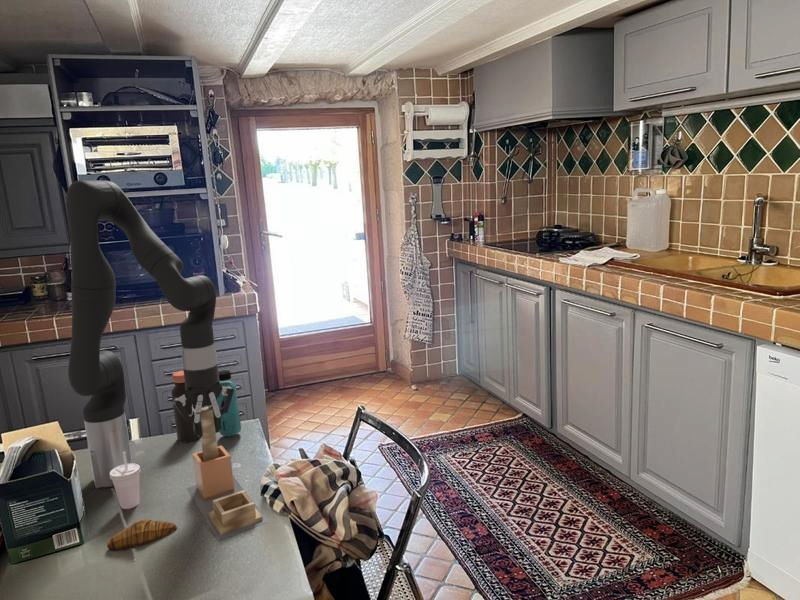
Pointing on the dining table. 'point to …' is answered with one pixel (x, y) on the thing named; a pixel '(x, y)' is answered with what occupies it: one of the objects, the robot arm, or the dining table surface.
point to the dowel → (208, 434)
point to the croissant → (140, 534)
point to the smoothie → (126, 483)
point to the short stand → (234, 512)
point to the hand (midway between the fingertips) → (208, 433)
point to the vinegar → (182, 427)
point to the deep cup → (213, 474)
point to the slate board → (207, 507)
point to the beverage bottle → (231, 418)
